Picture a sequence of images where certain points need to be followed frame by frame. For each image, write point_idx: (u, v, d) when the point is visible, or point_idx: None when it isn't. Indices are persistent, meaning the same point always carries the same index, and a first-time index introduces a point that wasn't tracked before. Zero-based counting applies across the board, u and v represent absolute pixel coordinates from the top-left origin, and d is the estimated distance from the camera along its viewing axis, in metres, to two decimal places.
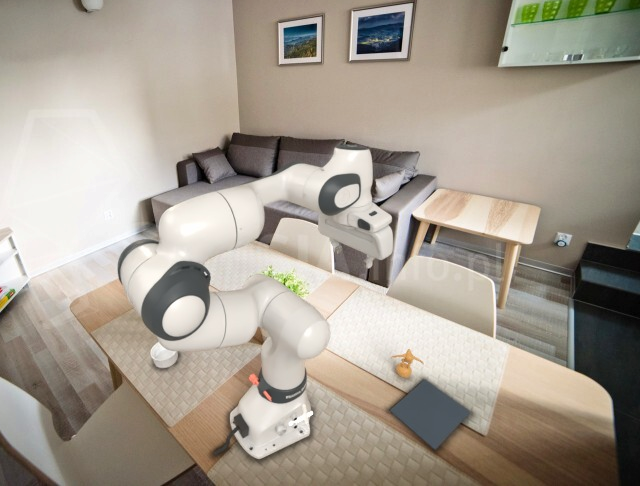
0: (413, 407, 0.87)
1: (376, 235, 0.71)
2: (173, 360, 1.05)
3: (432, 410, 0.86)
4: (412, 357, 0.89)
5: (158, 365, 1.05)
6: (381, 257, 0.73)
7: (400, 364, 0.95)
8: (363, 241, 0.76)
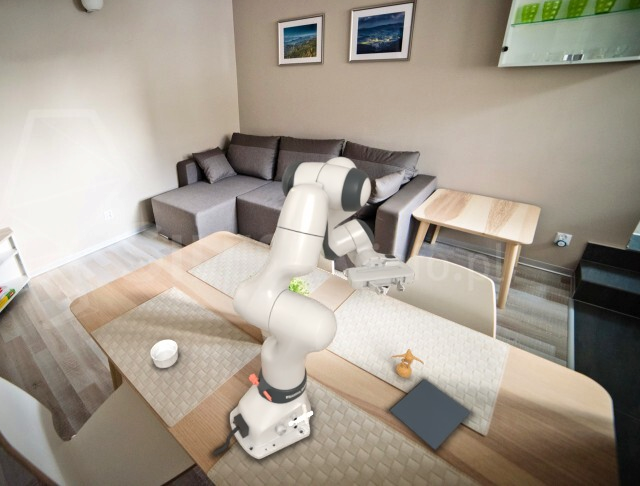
0: (413, 407, 0.87)
1: (401, 261, 1.07)
2: (173, 360, 1.05)
3: (432, 410, 0.86)
4: (412, 357, 0.89)
5: (158, 365, 1.05)
6: (413, 271, 1.02)
7: (400, 364, 0.95)
8: (394, 269, 1.04)
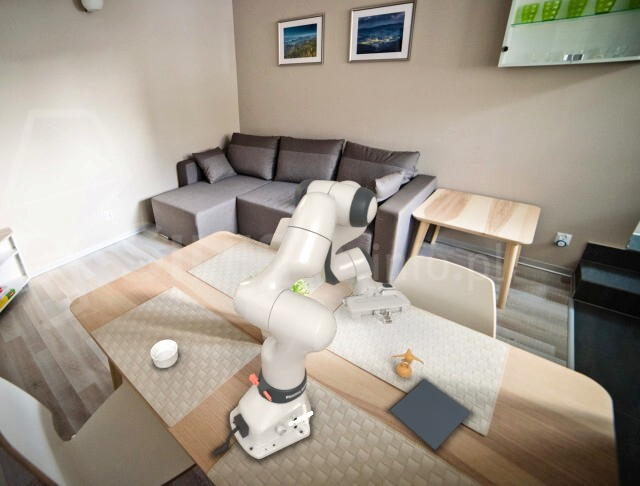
0: (413, 407, 0.87)
1: (397, 290, 1.11)
2: (173, 360, 1.05)
3: (432, 410, 0.86)
4: (412, 357, 0.89)
5: (158, 365, 1.05)
6: (409, 302, 1.06)
7: (400, 364, 0.95)
8: (391, 299, 1.08)
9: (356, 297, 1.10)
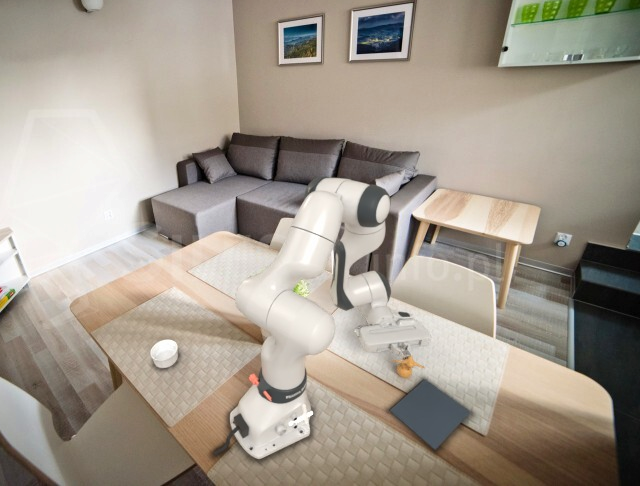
0: (413, 407, 0.87)
1: None
2: (173, 360, 1.05)
3: (432, 410, 0.86)
4: (414, 364, 0.87)
5: (158, 365, 1.05)
6: (429, 334, 0.96)
7: (401, 365, 0.95)
8: (409, 331, 0.98)
9: (370, 327, 1.00)
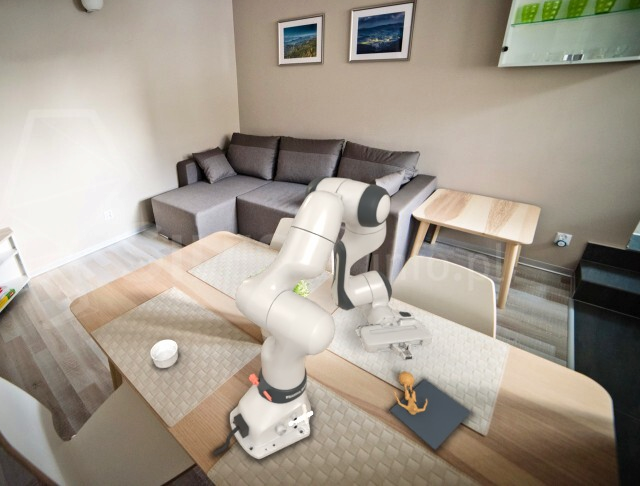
0: None
1: None
2: (173, 360, 1.05)
3: (432, 410, 0.86)
4: None
5: (158, 365, 1.05)
6: (430, 334, 0.96)
7: (404, 380, 0.91)
8: (410, 330, 0.98)
9: (371, 327, 1.00)
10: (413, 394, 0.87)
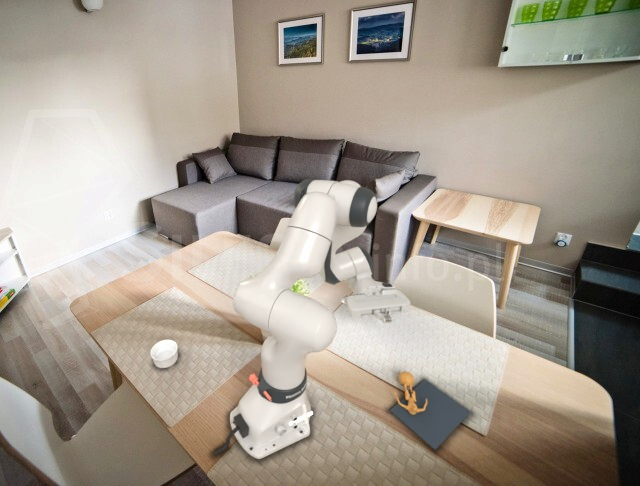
0: None
1: None
2: (173, 360, 1.05)
3: (432, 410, 0.86)
4: None
5: (158, 365, 1.05)
6: (409, 301, 1.06)
7: (404, 380, 0.91)
8: (391, 298, 1.08)
9: (356, 296, 1.10)
10: (413, 394, 0.87)
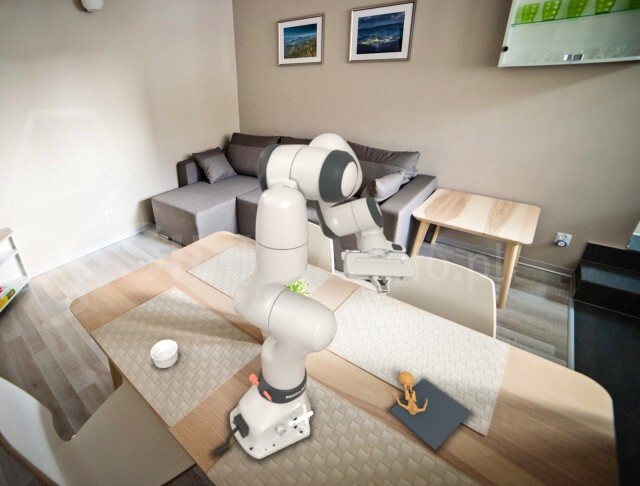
0: None
1: None
2: (173, 360, 1.05)
3: (432, 410, 0.86)
4: None
5: (158, 365, 1.05)
6: (414, 272, 0.95)
7: (404, 380, 0.91)
8: (396, 265, 0.96)
9: (358, 255, 0.98)
10: (413, 394, 0.87)
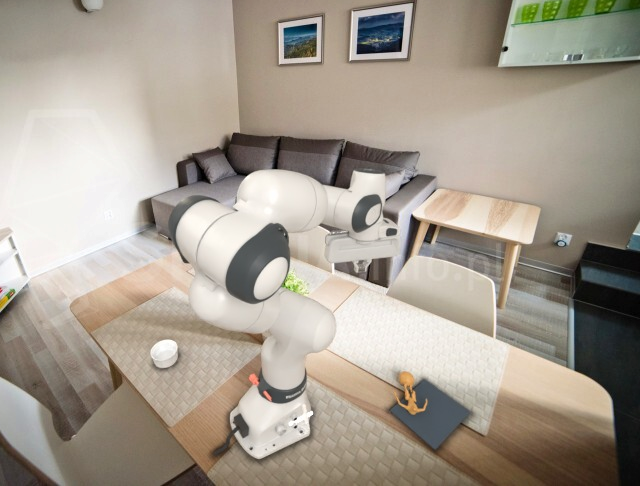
0: None
1: (399, 236, 0.86)
2: (173, 360, 1.05)
3: (432, 410, 0.86)
4: None
5: (158, 365, 1.05)
6: None
7: (404, 380, 0.91)
8: (382, 248, 0.88)
9: (344, 242, 0.86)
10: (413, 394, 0.87)
